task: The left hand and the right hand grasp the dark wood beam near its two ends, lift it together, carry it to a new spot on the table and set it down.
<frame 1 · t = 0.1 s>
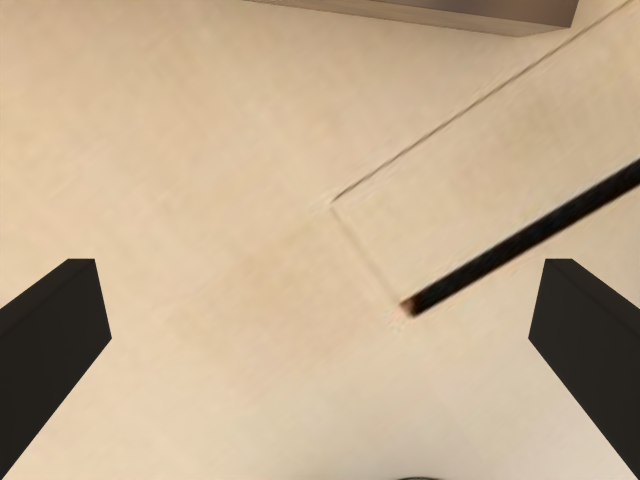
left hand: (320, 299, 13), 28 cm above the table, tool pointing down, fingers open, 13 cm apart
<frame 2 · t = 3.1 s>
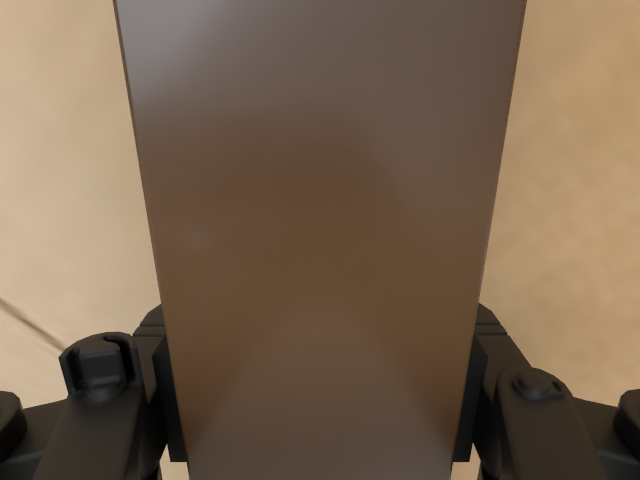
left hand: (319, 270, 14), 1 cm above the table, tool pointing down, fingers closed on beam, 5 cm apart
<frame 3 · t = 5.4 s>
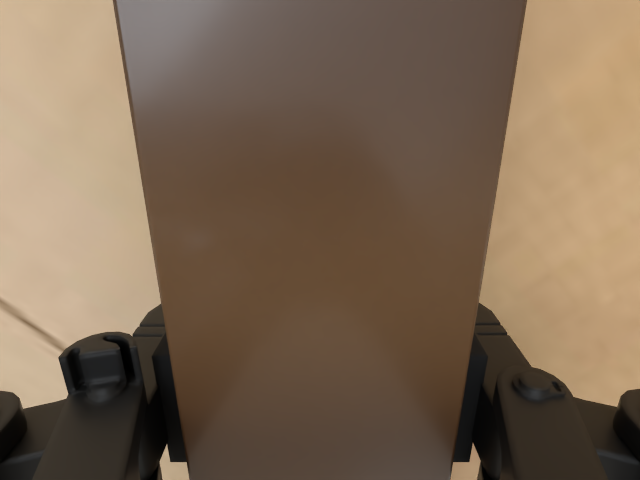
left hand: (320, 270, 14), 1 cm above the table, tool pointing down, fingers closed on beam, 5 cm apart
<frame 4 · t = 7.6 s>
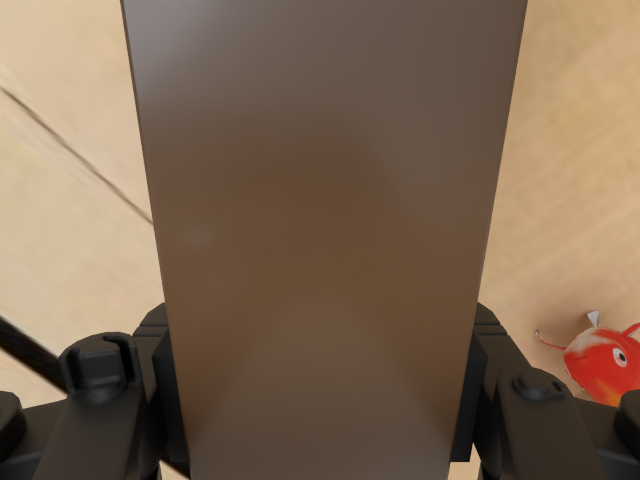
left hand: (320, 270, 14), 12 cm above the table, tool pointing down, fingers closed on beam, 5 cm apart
fish: (609, 353, 30), on the table
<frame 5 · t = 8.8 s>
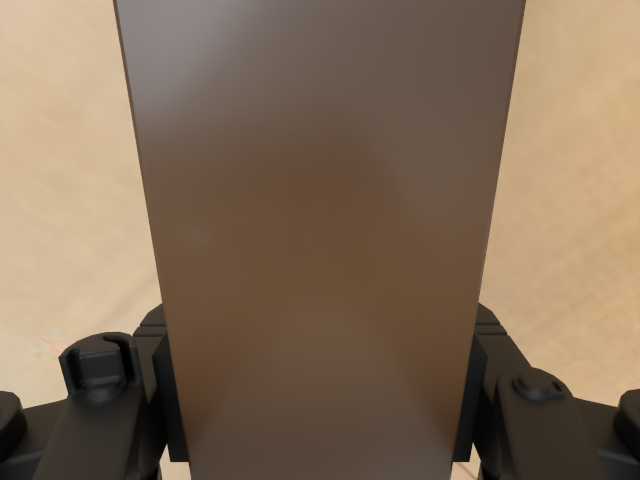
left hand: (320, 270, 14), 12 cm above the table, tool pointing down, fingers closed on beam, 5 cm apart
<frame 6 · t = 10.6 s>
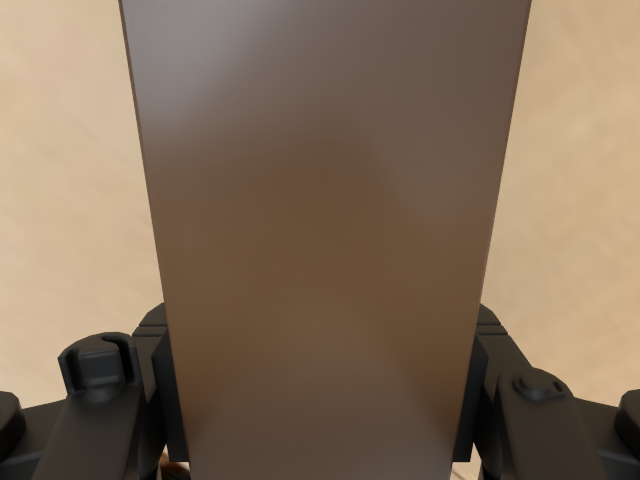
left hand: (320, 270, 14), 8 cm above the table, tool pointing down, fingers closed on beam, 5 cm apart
when the left hand's fingers open (2 cm above the table, at t = 11.9 s): beam drops 1 cm, on the table.
when the right hand's fingers open (4 cm above the table, at t = 12.1 s): beam stays where it is, on the table.
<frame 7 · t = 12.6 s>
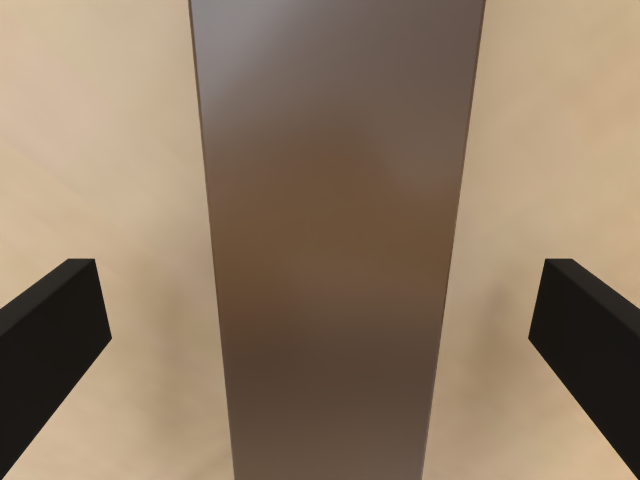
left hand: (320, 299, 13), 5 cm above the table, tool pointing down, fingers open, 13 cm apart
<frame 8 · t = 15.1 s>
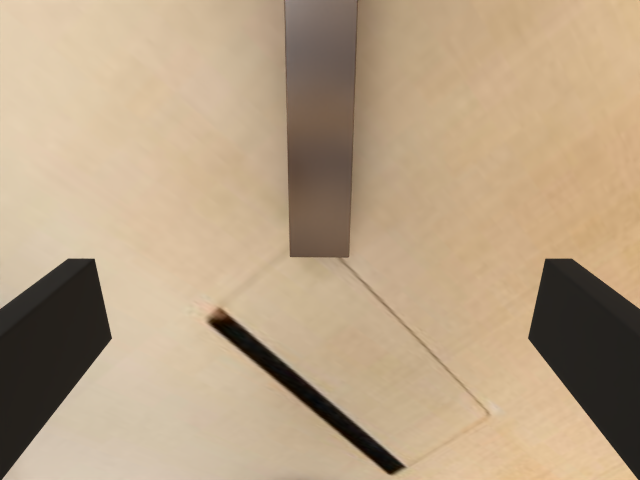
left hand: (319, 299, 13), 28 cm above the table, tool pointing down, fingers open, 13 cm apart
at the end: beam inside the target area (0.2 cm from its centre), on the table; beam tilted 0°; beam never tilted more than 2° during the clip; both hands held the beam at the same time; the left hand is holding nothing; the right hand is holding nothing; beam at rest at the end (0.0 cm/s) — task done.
